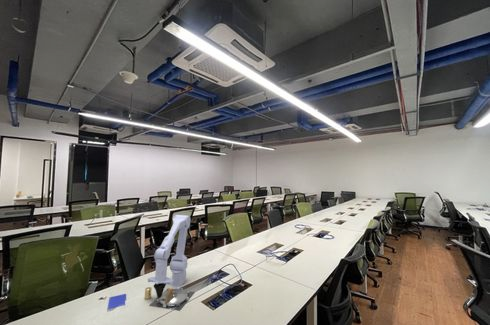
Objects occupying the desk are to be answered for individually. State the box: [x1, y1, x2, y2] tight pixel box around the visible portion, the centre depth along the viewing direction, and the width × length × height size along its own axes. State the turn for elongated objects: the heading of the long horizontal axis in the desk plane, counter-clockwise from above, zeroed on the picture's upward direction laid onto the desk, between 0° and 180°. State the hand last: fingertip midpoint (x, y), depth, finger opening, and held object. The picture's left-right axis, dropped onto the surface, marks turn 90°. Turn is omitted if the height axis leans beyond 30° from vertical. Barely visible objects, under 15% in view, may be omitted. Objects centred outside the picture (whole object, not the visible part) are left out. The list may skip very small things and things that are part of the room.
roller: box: [144, 286, 152, 301], centre depth 112 cm, size 3×3×6 cm
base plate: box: [148, 287, 196, 312], centre depth 112 cm, size 18×18×1 cm
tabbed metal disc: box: [155, 287, 190, 309], centre depth 112 cm, size 18×18×5 cm
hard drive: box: [106, 293, 127, 313], centre depth 108 cm, size 2×8×12 cm
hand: (159, 296), depth 109 cm, fingers closed
